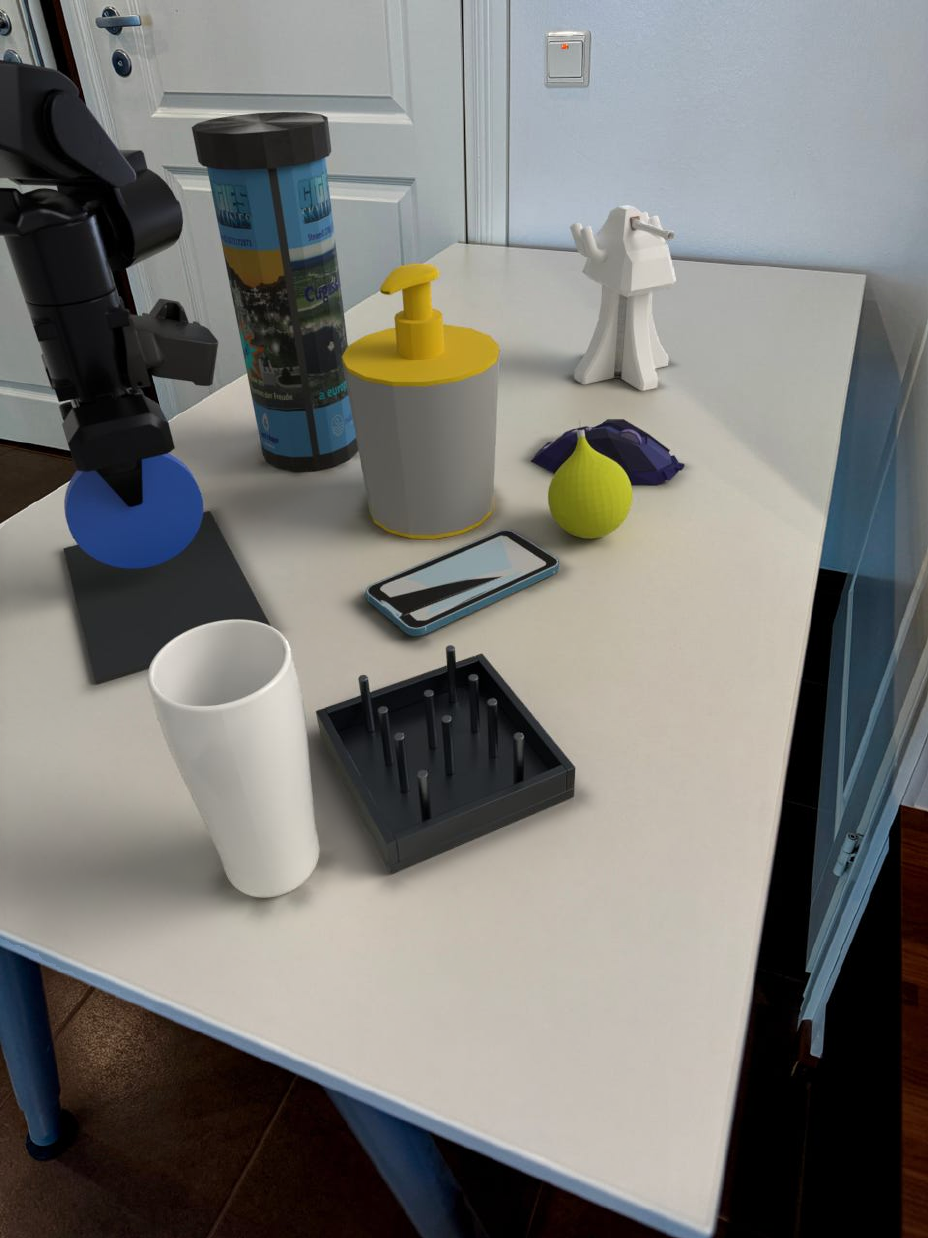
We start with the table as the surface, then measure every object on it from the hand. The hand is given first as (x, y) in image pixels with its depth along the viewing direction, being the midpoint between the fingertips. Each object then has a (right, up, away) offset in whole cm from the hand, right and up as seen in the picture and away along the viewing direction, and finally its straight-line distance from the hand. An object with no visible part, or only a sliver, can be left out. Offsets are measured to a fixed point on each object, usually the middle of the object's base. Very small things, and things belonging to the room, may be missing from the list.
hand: (133, 500), depth 67 cm
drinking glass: (+15, -23, -17) cm, 32 cm away
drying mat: (0, -7, +5) cm, 8 cm away
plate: (0, -5, +3) cm, 6 cm away
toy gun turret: (+44, +20, +37) cm, 61 cm away
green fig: (+36, -2, +10) cm, 37 cm away
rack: (+24, -18, -12) cm, 32 cm away
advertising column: (+9, +8, +24) cm, 28 cm away
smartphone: (+25, -6, +4) cm, 26 cm away
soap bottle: (+22, +1, +14) cm, 26 cm away
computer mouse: (+40, +6, +20) cm, 45 cm away
